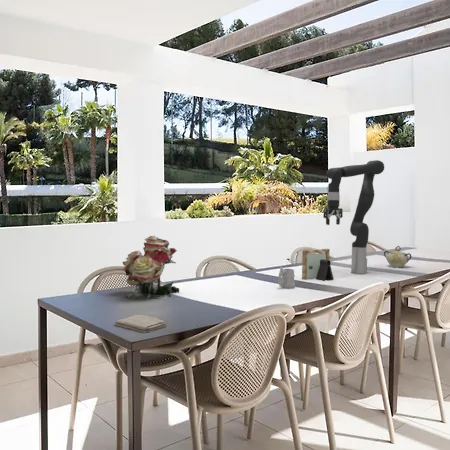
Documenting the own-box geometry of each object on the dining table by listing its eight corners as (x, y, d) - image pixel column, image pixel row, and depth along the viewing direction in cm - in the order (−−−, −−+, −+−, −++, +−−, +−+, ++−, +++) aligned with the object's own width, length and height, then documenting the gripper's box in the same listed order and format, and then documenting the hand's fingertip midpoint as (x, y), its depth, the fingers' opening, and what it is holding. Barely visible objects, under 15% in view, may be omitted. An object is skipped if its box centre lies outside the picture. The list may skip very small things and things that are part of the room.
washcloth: (146, 334, 183) (146, 326, 183) (113, 326, 193) (113, 318, 193) (168, 327, 192) (168, 319, 192) (135, 320, 203) (135, 312, 203)
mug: (297, 287, 275) (298, 265, 274) (283, 289, 267) (284, 267, 266) (287, 285, 281) (287, 264, 280) (273, 287, 273) (273, 266, 272)
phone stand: (323, 281, 296) (323, 261, 295) (315, 279, 301) (316, 259, 300) (333, 279, 301) (334, 259, 300) (326, 278, 306) (326, 258, 305)
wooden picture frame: (326, 276, 312) (327, 248, 311) (328, 276, 311) (329, 249, 309) (301, 278, 302) (302, 250, 301) (304, 279, 300) (304, 250, 299)
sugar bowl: (414, 267, 356) (415, 246, 355) (407, 269, 345) (408, 248, 344) (387, 264, 369) (388, 244, 368) (379, 266, 357) (380, 245, 356)
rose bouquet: (126, 289, 264) (126, 233, 262) (181, 290, 263) (181, 234, 261) (114, 300, 238) (114, 237, 236) (174, 301, 237) (175, 238, 235)
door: (323, 276, 311) (324, 253, 310) (326, 276, 308) (327, 253, 308) (305, 278, 303) (305, 254, 302) (308, 278, 301) (308, 254, 300)
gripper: (337, 199, 324) (336, 224, 325) (321, 199, 316) (320, 224, 317) (345, 199, 317) (345, 224, 318) (329, 199, 310) (328, 225, 311)
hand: (332, 224), depth 318 cm, fingers open, 8 cm apart
